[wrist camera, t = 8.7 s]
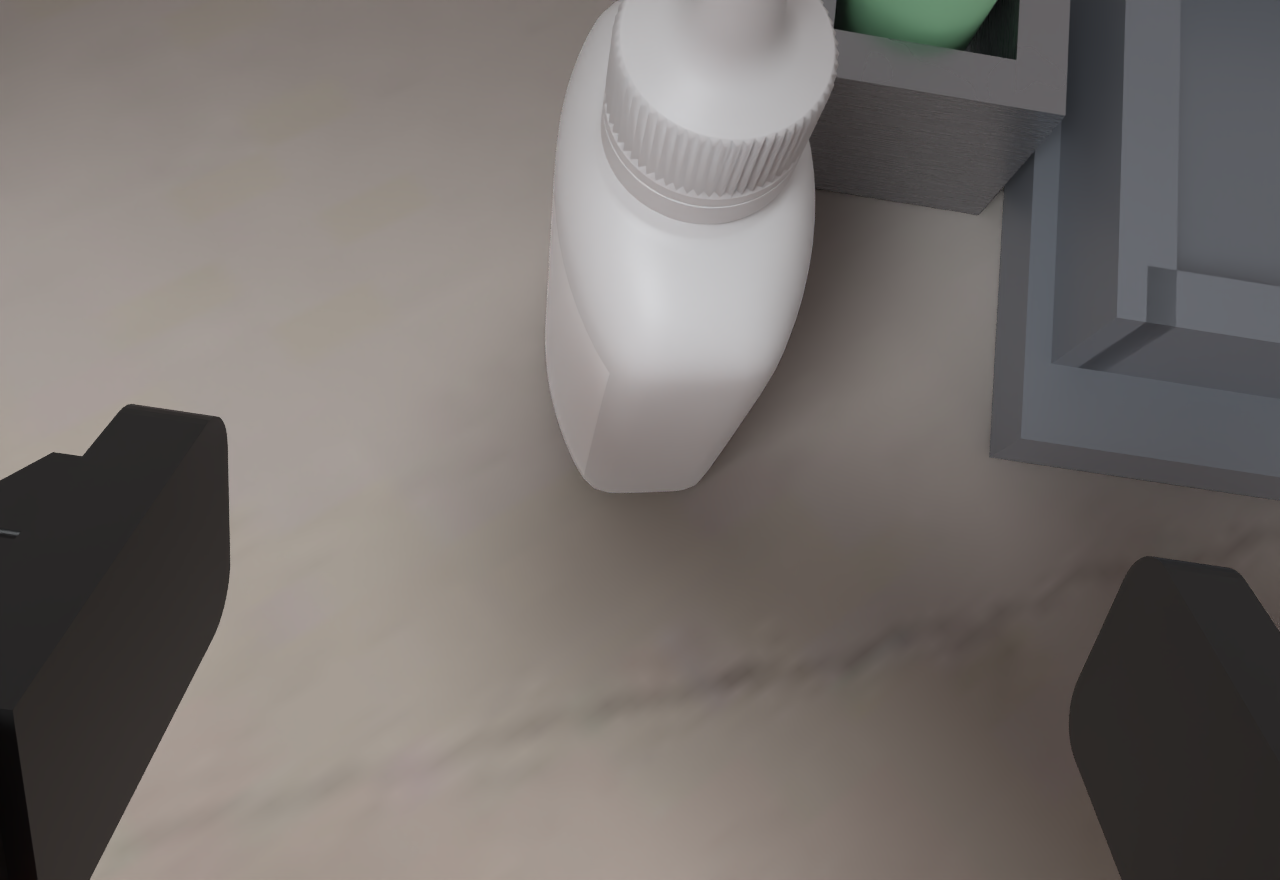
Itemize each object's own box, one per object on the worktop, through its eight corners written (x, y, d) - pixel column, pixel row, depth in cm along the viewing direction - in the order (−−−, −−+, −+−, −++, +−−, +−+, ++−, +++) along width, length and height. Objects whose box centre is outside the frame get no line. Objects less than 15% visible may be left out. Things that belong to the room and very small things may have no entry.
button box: (734, 175, 24) (776, 66, 20) (760, -41, 25) (803, -182, 21) (978, 214, 24) (1066, 115, 20) (991, -1, 25) (1075, -134, 22)
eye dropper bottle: (462, 429, 22) (397, 91, 11) (598, 183, 24) (673, -351, 12) (674, 535, 22) (844, 313, 10) (797, 282, 23) (1067, -160, 12)
